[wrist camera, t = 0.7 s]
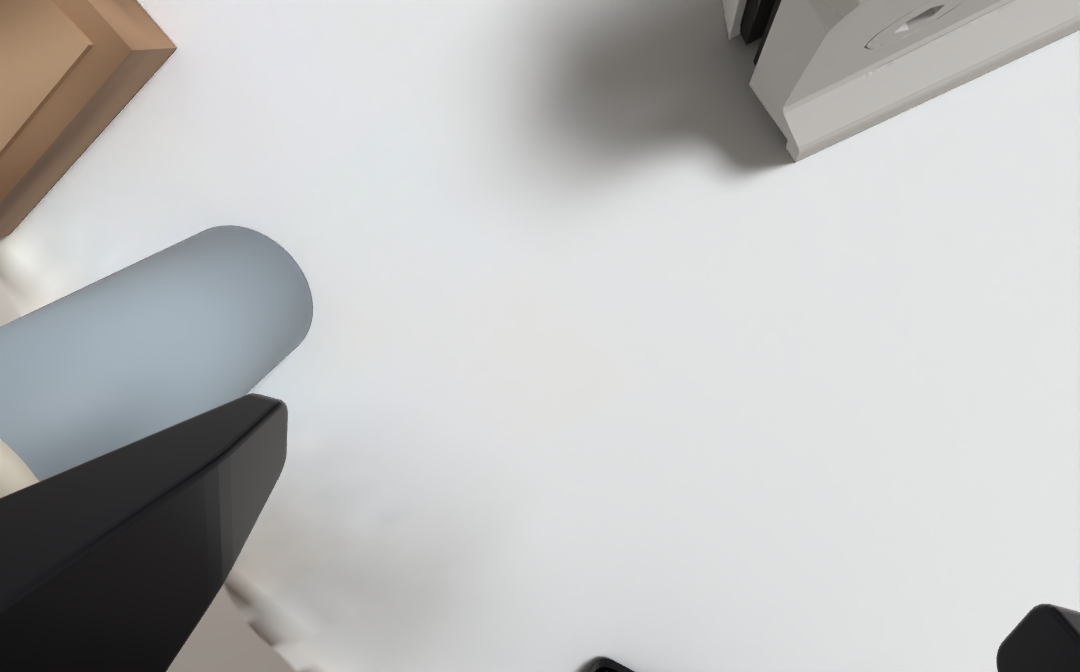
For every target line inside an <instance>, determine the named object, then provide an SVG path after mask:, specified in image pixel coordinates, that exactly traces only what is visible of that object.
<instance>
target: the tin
mask: <svg viewBox="0 0 1080 672" xmlns="http://www.w3.org/2000/svg"><path fill="white" fill-rule="evenodd" d="M312 316H313V303H312V296H311V291H310V288H309V285H308V282H307V280H306V278H305V276H304V274H303V272H302V270H301V269H300V267H299V266H298V264H297V263H296V261H295V260H294V259H293V258H292V256H291V255H290V254H289V253H288V252H287V251H286V250H285V249H284V248H283V247H281V246H280V245H279V244H278V243H276V242H275V241H273V240H272V239H270V238H269V237H267V236H265V235H263V234H261V233H259V232H257V231H254V230H251V229H249V228H244V227H240V226H218V227H213V228H210V229H207V230H204V231H202V232H200V233H198V234H196V235H194V236H192V237H190V238H187V239H185V240H183V241H181V242H179V243H177V244H175V245H173V246H171V247H168V248H166V249H164V250H162V251H160V252H158V253H156V254H154V255H152V256H149V257H147V258H145V259H143V260H141V261H139V262H137V263H135V264H132V265H130V266H128V267H126V268H124V269H122V270H120V271H118V272H116V273H113V274H111V275H109V276H107V277H105V278H103V279H101V280H99V281H97V282H94V283H92V284H90V285H88V286H86V287H84V288H82V289H80V290H77V291H75V292H73V293H71V294H69V295H67V296H65V297H63V298H61V299H58V300H56V301H54V302H52V303H50V304H48V305H46V306H44V307H42V308H39V309H37V310H35V311H33V312H31V313H29V314H27V315H25V316H23V317H20V318H18V319H16V320H14V321H12V322H10V323H8V324H6V325H3V326H1V327H0V498H2V497H4V496H6V495H9V494H11V493H14V492H16V491H18V490H21V489H23V488H25V487H28V486H30V485H33V484H35V483H37V482H40V481H42V480H45V479H47V478H49V477H52V476H54V475H56V474H59V473H61V472H64V471H66V470H68V469H71V468H73V467H75V466H78V465H80V464H83V463H85V462H87V461H90V460H92V459H95V458H97V457H99V456H102V455H104V454H106V453H109V452H111V451H114V450H116V449H118V448H121V447H123V446H125V445H128V444H130V443H133V442H135V441H137V440H140V439H142V438H144V437H147V436H149V435H152V434H154V433H156V432H159V431H161V430H164V429H166V428H168V427H171V426H173V425H175V424H178V423H180V422H183V421H185V420H187V419H190V418H192V417H194V416H197V415H199V414H202V413H204V412H206V411H209V410H211V409H214V408H216V407H218V406H221V405H223V404H225V403H228V402H230V401H233V400H235V399H237V398H240V397H242V396H244V395H245V394H246V393H248V392H249V391H250V390H251V389H252V388H253V387H254V386H255V385H256V384H257V383H258V382H259V381H260V380H262V379H263V378H264V377H265V376H266V375H267V374H268V373H269V372H270V371H271V370H272V369H273V368H275V367H276V366H277V365H278V364H279V363H280V362H281V361H282V360H283V359H284V358H285V357H286V356H288V355H289V354H290V353H291V352H292V351H293V350H294V349H295V348H296V347H297V346H298V345H299V344H300V343H301V342H302V341H303V340H304V338H305V337H306V335H307V333H308V331H309V328H310V325H311V322H312Z"/></svg>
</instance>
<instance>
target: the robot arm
mask: <svg viewBox="0 0 1080 672" xmlns="http://www.w3.org/2000/svg"><path fill="white" fill-rule="evenodd" d="M287 421H288V410H287V406H286V404H285V403H284V402H283V401H282V400H279V399H275V398H271V397H268V396H264V395H260V394H254V393H252V394H247V395H244V396H242V397H240V398H237V399H235V400H233V401H230V402H228V403H225V404H223V405H221V406H218V407H216V408H214V409H211V410H209V411H206V412H204V413H202V414H199V415H197V416H194V417H192V418H190V419H187V420H185V421H183V422H180V423H178V424H175V425H173V426H171V427H168V428H166V429H164V430H161V431H159V432H156V433H154V434H152V435H149V436H147V437H144V438H142V439H140V440H137V441H135V442H133V443H130V444H128V445H125V446H123V447H121V448H118V449H116V450H114V451H111V452H109V453H106V454H104V455H102V456H99V457H97V458H95V459H92V460H90V461H87V462H85V463H83V464H80V465H78V466H75V467H73V468H71V469H68V470H66V471H64V472H61V473H59V474H56V475H54V476H52V477H49V478H47V479H45V480H42V481H40V482H37V483H35V484H33V485H30V486H28V487H25V488H23V489H21V490H18V491H16V492H14V493H11V494H9V495H6V496H4V497H2V498H0V672H166V671H167V669H168V668H169V666H170V664H171V663H172V662H173V660H174V658H175V657H176V656H177V654H178V653H179V651H180V650H181V648H182V647H183V645H184V644H185V642H186V641H187V639H188V638H189V636H190V635H191V633H192V632H193V630H194V629H195V627H196V626H197V624H198V622H199V621H200V620H201V618H202V616H203V615H204V613H205V612H206V611H207V609H208V608H209V606H210V604H211V603H212V601H213V600H214V598H215V597H216V594H217V593H218V592H219V590H220V589H221V587H222V585H223V584H224V582H225V580H226V578H227V576H228V574H229V573H230V571H231V569H232V567H233V565H234V563H235V561H236V559H237V557H238V556H239V554H240V552H241V550H242V548H243V546H244V544H245V542H246V540H247V538H248V536H249V534H250V532H251V530H252V528H253V526H254V525H255V523H256V521H257V519H258V517H259V515H260V513H261V511H262V509H263V507H264V505H265V503H266V501H267V499H268V497H269V496H270V494H271V492H272V490H273V488H274V486H275V484H276V482H277V480H278V478H279V476H280V474H281V472H282V469H283V467H284V463H285V460H286V453H287ZM997 670H998V672H1080V613H1079V612H1077V611H1074V610H1070V609H1066V608H1063V607H1059V606H1055V605H1051V604H1040V605H1038V606H1035V607H1034V608H1033V609H1032V610H1030V612H1029V613H1028V614H1027V615H1026V616H1025V617H1024V618H1023V619H1022V621H1021V622H1020V623H1019V624H1018V625H1017V626H1016V627H1015V628H1014V630H1013V631H1012V632H1011V633H1010V634H1009V635H1008V636H1007V637H1006V638H1005V640H1004V641H1003V642H1002V643H1001V645H1000V647H999V649H998V653H997ZM606 671H608V672H634V671H632V670H630V669H628V668H626V667H624V666H623V665H621V664H619V663H617V662H615V661H613V660H610V659H600V660H598V661H597V662H596V663H595V664H594V665H593V666H592V667H591V668H590V669H589V670H588V672H606Z"/></svg>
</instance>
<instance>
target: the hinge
mask: <svg viewBox="0 0 1080 672" xmlns="http://www.w3.org/2000/svg"><path fill="white" fill-rule="evenodd" d="M722 5H723V11H724V17H725V22H726V27H727V32H728V37H729V40H730V39H732V38H734V37H736V36H738V35H740V34H741V35H742V37H743V39H744V41H745V44H746V45H748V44H750V43H752V42H754V41H755V40H757V39H759V38H761V37H762V39H761V42H760V44H759V47H758V50H757V53H756V55H755V58H754V61H753V62H754V64H755V66H756V68H755V70H754V73H753V75H752V78H751V80H750V83H749V86H750V87H751V89H752V90H753V91H754V93H755V94H756V96H757V97H758V99H759V100H760V101H761V103H762V104H763V106H764V107H765V109H766V110H767V111H768V113H769V114H770V116H771V117H772V119H773V120H774V121H775V123H776V124H777V126H778V127H779V129H780V130H781V131H782V133H783V134H784V136H785V137H786V139H787V140H788V141H787V145H786V150H787V151H788V153H789V154H790V156H791V157H792V159H793V160H794V162H797V161H800V160H802V159H804V158H806V157H808V156H810V155H812V154H815V153H817V152H819V151H821V150H823V149H825V148H827V147H830V146H832V145H834V144H836V143H838V142H840V141H842V140H845V139H847V138H849V137H851V136H853V135H855V134H857V133H860V132H862V131H864V130H866V129H868V128H870V127H872V126H875V125H877V124H879V123H881V122H883V121H885V120H887V119H890V118H892V117H894V116H896V115H898V114H900V113H902V112H905V111H907V110H909V109H911V108H913V107H915V106H917V105H920V104H922V103H924V102H926V101H928V100H930V99H932V98H935V97H937V96H939V95H941V94H943V93H945V92H947V91H950V90H952V89H954V88H956V87H958V86H960V85H962V84H965V83H967V82H969V81H971V80H973V79H975V78H978V77H980V76H982V75H984V74H986V73H988V72H990V71H993V70H995V69H997V68H999V67H1001V66H1003V65H1005V64H1008V63H1010V62H1012V61H1014V60H1016V59H1018V58H1020V57H1023V56H1025V55H1027V54H1029V53H1031V52H1033V51H1035V50H1038V49H1040V48H1042V47H1044V46H1046V45H1048V44H1050V43H1053V42H1055V41H1057V40H1059V39H1061V38H1063V37H1065V36H1068V35H1070V34H1072V33H1074V32H1076V31H1078V30H1080V0H722Z"/></svg>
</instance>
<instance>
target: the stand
mask: <svg viewBox="0 0 1080 672" xmlns="http://www.w3.org/2000/svg"><path fill="white" fill-rule="evenodd" d="M176 48H177V47H176V46H175V45H174V44H173V42H172V41H171V40H170V39H169V38H168V37H167V35H166V34H165V33H164V32H163V31H162V30H161V28H160V27H159V26H158V25H157V24H156V23H155V21H154V20H153V19H152V18H151V17H150V16H149V14H148V13H147V12H146V11H145V10H144V9H143V7H142V6H141V5H140V4H139V3H138V2H137V0H0V237H3V236H6V235H9V234H10V233H11V232H12V231H13V230H14V229H15V228H16V227H17V226H18V225H19V223H20V222H21V221H22V220H23V219H24V218H25V217H26V216H27V215H28V213H29V212H30V211H31V210H32V209H33V208H34V207H35V206H36V204H37V203H38V202H39V201H40V200H41V199H42V198H43V197H44V196H45V194H46V193H47V192H48V191H49V190H50V189H51V188H52V187H53V186H54V184H55V183H56V182H57V181H58V180H59V179H60V178H61V177H62V175H63V174H64V173H65V172H66V171H67V170H68V169H69V168H70V167H71V165H72V164H73V163H74V162H75V161H76V160H77V159H78V158H79V157H80V155H81V154H82V153H83V152H84V151H85V150H86V149H87V148H88V147H89V145H90V144H91V143H92V142H93V141H94V140H95V139H96V138H97V136H98V135H99V134H100V133H101V132H102V131H103V130H104V129H105V128H106V126H107V125H108V124H109V123H110V122H111V121H112V120H113V119H114V118H115V116H116V115H117V114H118V113H119V112H120V111H121V110H122V109H123V107H124V106H125V105H126V104H127V103H128V102H129V101H130V100H131V99H132V97H133V96H134V95H135V94H136V93H137V92H138V91H139V90H140V89H141V87H142V86H143V85H144V84H145V83H146V82H147V81H148V80H149V79H150V77H151V76H152V75H153V74H154V73H155V72H156V71H157V70H158V68H159V67H160V66H161V65H162V64H163V63H164V62H165V61H166V60H167V58H168V57H169V56H170V55H171V54H172V53H173V52H174V51H175V50H176Z"/></svg>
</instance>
